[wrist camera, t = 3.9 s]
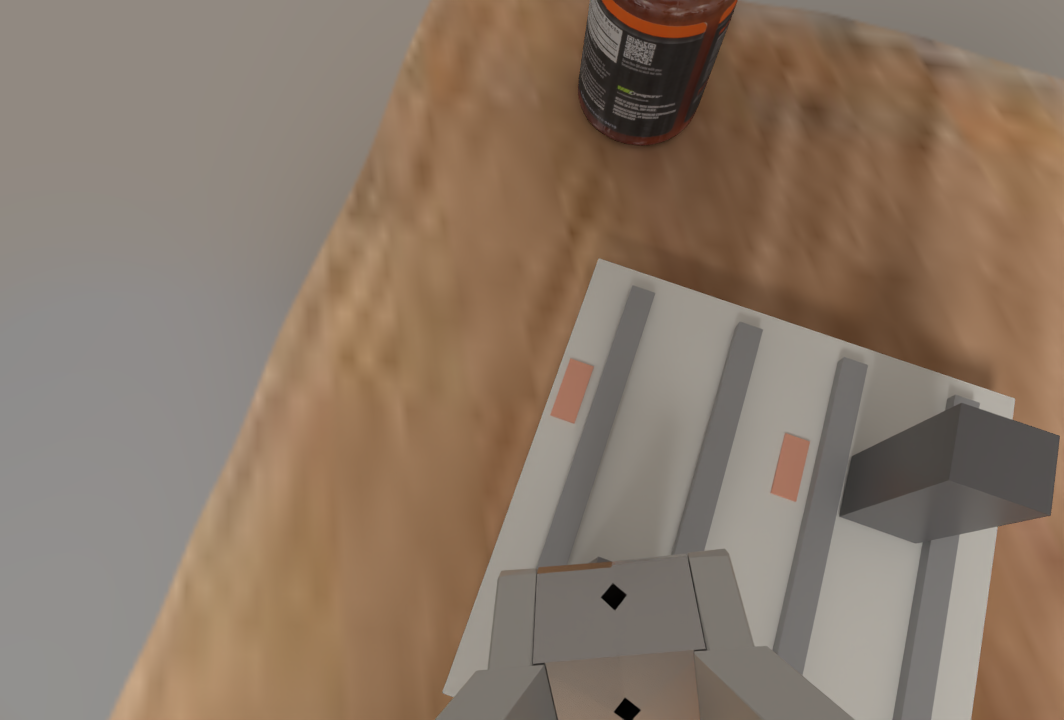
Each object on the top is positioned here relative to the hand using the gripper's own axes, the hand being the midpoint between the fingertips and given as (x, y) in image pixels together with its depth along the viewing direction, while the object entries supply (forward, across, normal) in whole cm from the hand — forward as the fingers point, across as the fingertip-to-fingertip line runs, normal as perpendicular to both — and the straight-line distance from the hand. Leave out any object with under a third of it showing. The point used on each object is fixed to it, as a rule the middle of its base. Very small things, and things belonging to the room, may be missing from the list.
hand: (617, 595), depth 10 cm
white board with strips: (+17, -4, +14) cm, 22 cm away
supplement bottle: (+32, -3, -1) cm, 32 cm away
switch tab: (+17, -10, +13) cm, 23 cm away
